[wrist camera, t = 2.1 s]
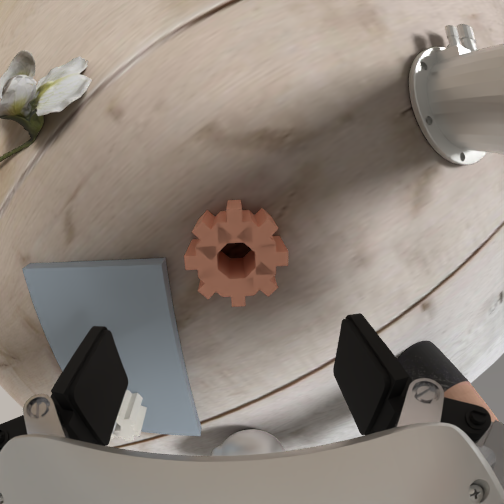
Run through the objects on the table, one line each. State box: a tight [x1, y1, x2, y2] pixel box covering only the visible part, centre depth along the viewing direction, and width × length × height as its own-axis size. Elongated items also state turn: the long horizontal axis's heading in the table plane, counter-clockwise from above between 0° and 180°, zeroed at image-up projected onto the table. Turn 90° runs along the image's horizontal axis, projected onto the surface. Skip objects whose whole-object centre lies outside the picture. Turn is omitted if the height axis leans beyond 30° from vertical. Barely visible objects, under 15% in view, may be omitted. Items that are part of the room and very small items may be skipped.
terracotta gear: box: [184, 200, 288, 307], centre depth 21 cm, size 7×7×4 cm
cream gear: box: [111, 390, 147, 441], centre depth 24 cm, size 7×7×4 cm
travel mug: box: [397, 341, 498, 422], centre depth 20 cm, size 8×8×20 cm
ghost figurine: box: [211, 429, 285, 456], centre depth 27 cm, size 9×10×10 cm
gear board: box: [23, 258, 201, 436], centre depth 23 cm, size 24×16×6 cm, turn 1°
